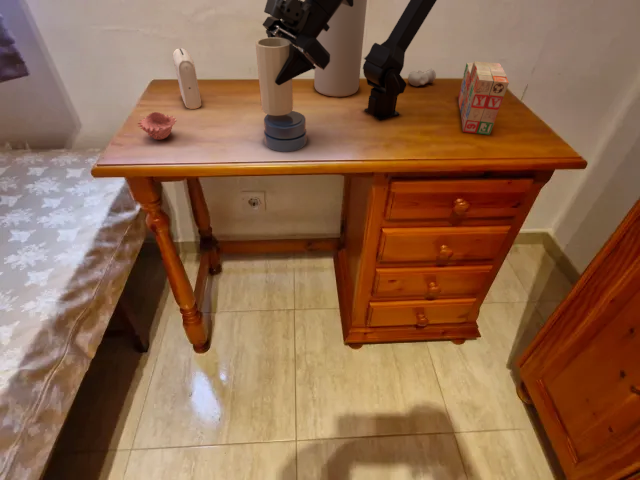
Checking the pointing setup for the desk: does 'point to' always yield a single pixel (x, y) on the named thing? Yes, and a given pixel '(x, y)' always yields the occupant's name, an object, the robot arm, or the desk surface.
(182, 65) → the photo printer
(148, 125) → the pink clay bowl
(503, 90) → the stack of blocks
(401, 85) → the robot arm
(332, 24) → the cylinder vase
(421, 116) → the desk surface
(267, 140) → the round ridged metallic base
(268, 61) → the cup
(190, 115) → the desk surface
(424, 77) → the smooth white sculpture
